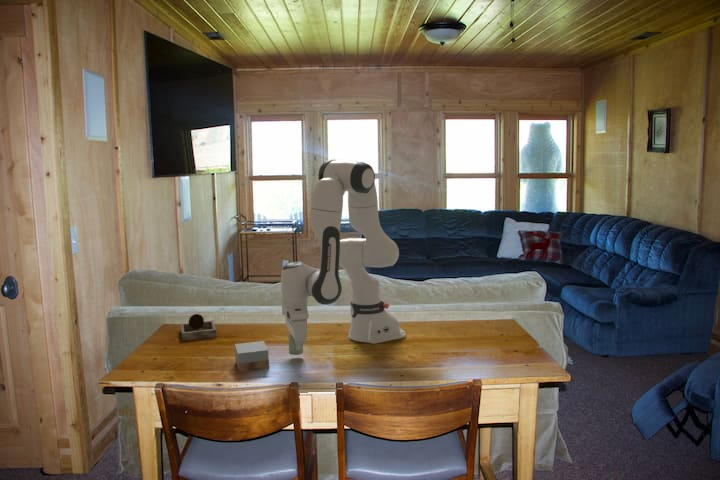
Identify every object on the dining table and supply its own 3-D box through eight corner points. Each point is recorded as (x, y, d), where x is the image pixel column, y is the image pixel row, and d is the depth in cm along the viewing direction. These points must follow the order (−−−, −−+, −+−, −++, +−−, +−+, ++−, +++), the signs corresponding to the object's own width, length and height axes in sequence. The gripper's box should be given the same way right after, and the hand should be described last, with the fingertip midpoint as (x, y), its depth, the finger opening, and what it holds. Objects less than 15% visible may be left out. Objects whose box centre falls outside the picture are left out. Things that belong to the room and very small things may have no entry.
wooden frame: (213, 327, 241) (213, 320, 240) (216, 336, 229) (216, 329, 228) (181, 331, 237) (180, 324, 236) (182, 340, 224) (181, 333, 224)
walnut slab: (264, 359, 204) (264, 350, 204) (269, 369, 195) (268, 359, 194) (235, 363, 201) (235, 353, 201) (239, 373, 192) (238, 363, 191)
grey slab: (264, 350, 204) (263, 340, 203) (268, 360, 194) (268, 350, 194) (235, 353, 201) (234, 344, 200) (238, 363, 191) (238, 353, 191)
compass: (195, 337, 229) (194, 319, 228) (188, 332, 235) (187, 314, 234) (214, 333, 234) (213, 315, 232) (207, 328, 240) (206, 311, 239)
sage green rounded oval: (301, 349, 207) (301, 333, 206) (304, 353, 202) (304, 337, 201) (288, 350, 206) (287, 334, 205) (290, 355, 201) (289, 339, 200)
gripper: (280, 301, 210) (282, 337, 212) (291, 317, 191) (292, 357, 193) (297, 299, 212) (299, 335, 214) (309, 315, 193) (311, 354, 195)
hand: (296, 346), depth 204 cm, fingers closed on sage green rounded oval, 5 cm apart
